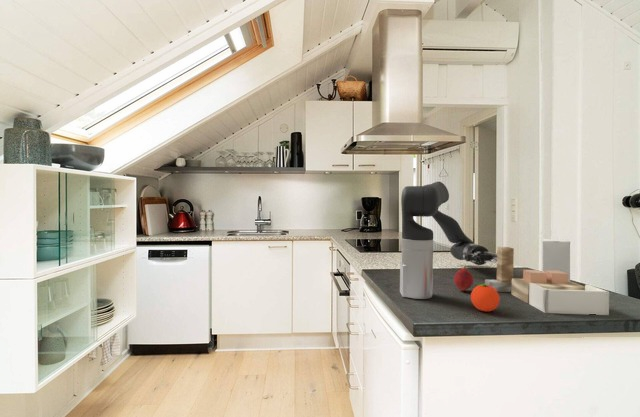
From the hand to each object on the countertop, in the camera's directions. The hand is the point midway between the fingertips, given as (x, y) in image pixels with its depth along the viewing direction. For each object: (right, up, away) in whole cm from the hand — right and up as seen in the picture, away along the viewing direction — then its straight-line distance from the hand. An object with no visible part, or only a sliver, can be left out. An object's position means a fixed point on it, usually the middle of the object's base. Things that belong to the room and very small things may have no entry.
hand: (492, 260), depth 125 cm
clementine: (-18, -9, -32) cm, 37 cm away
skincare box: (+23, -8, +1) cm, 25 cm away
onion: (-15, -8, -12) cm, 21 cm away
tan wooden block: (+6, -8, -21) cm, 23 cm away
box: (+5, -9, -30) cm, 32 cm away
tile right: (+9, -3, -20) cm, 22 cm away
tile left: (+3, -3, -19) cm, 20 cm away
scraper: (-1, -8, -10) cm, 13 cm away
